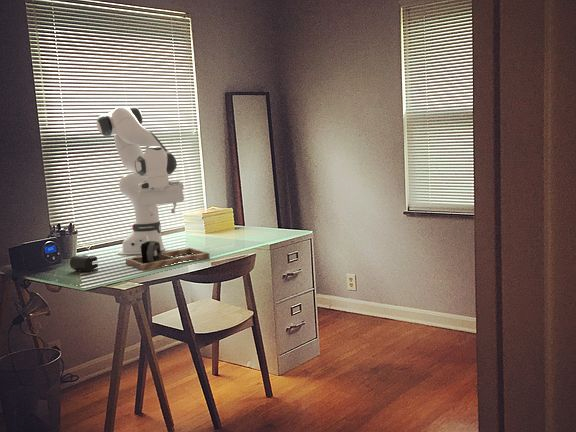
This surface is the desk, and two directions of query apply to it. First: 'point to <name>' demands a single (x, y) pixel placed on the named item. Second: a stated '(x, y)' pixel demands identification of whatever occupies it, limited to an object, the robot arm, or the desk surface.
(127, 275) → the desk surface
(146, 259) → the cpu cooler
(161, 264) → the wooden divided tray
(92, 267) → the end cap
